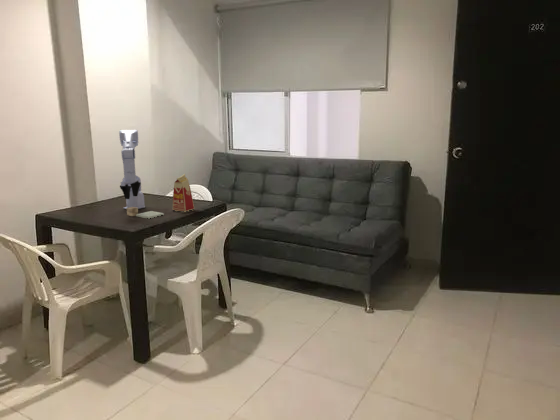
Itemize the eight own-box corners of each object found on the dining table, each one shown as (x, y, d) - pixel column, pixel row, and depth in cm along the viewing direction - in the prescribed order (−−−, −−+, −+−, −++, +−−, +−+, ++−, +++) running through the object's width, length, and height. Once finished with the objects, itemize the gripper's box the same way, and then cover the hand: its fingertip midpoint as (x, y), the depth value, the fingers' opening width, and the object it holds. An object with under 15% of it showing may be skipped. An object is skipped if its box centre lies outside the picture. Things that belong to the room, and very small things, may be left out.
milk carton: (182, 207, 264) (181, 172, 260) (195, 209, 260) (193, 174, 255) (171, 211, 257) (169, 174, 252) (183, 212, 252) (182, 176, 248)
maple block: (133, 214, 250) (132, 206, 249) (138, 214, 248) (137, 207, 247) (127, 215, 247) (126, 208, 246) (132, 216, 244) (131, 208, 244)
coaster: (151, 212, 252) (151, 210, 252) (164, 215, 247) (163, 213, 246) (136, 216, 244) (136, 214, 244) (149, 218, 239) (149, 216, 238)
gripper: (130, 169, 250) (132, 194, 253) (114, 173, 236) (116, 199, 239) (142, 170, 248) (143, 195, 251) (127, 173, 234) (128, 200, 237)
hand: (131, 197), depth 245 cm, fingers open, 7 cm apart
